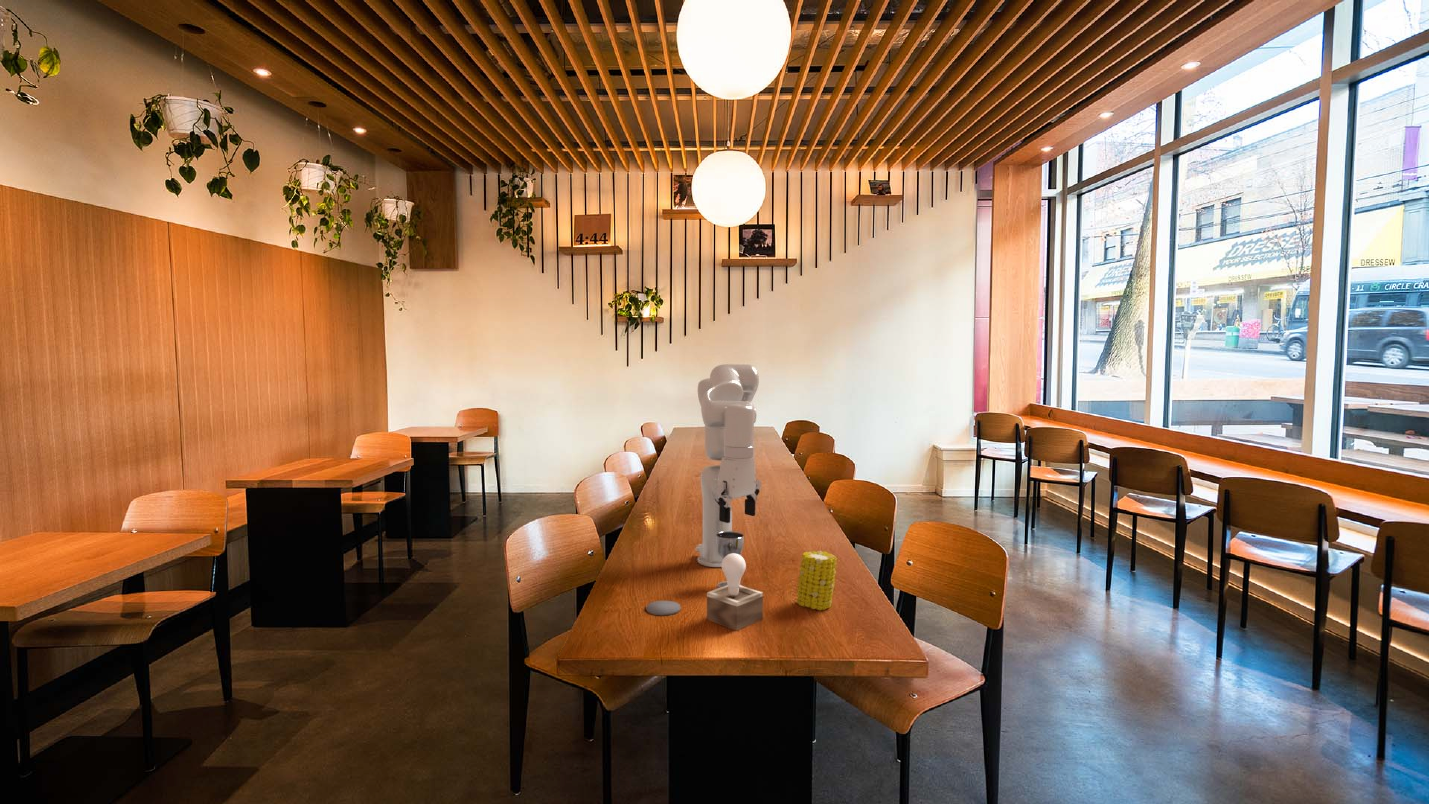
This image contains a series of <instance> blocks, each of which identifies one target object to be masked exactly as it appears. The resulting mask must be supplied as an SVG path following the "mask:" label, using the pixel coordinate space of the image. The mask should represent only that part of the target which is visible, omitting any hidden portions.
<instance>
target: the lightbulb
mask: <svg viewBox="0 0 1429 804" xmlns="http://www.w3.org/2000/svg"><path fill="white" fill-rule="evenodd" d="M746 568H747V564H746V560H745V558H744V557H743V556H742V555H739V554H736V553H731V554H728V555H727V556H726V557H725V558H724V559H723V561H722V567H721V570H722V573H723V574H724V576H725V579H726V581H727V585H728V592H729V595H731V596H733V597H735V596H736V595H738V593H739V586H740V584H741V581H742V580H741V579H742V577H743V576H744V573H745V572H746Z"/></svg>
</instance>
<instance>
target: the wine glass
mask: <svg viewBox="0 0 1429 804" xmlns="http://www.w3.org/2000/svg"><path fill="white" fill-rule="evenodd" d="M744 538H745V537H744V534H743V533H742V532H739V531H734V530H732V531H725V532H719V533H717V534H716V544H717V550H718V553H719V555H720V557H721V558H722V559H724V558H725V557H726V556H727V555H728V554H731V553H736V554H739V555H740V556H742V552H743V547H744V541H745V540H744ZM726 585H727V580H726V581H721V582H718V583H717V585H716V587H717V588H721V587H724V586H726ZM740 585H741V586H743V585H742V584H741V583H740Z"/></svg>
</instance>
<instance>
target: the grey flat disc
mask: <svg viewBox="0 0 1429 804" xmlns="http://www.w3.org/2000/svg"><path fill="white" fill-rule="evenodd" d="M645 610H646V612H647V613H648V614H651V615H653V616H661V617H664V616H671V615H675V614H677V613H679V612H680V611H681V604H679V602H676V601H672V600H657V601H656V600H655V601H651V602H649V603H648V604H646V606H645Z"/></svg>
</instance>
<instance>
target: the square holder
mask: <svg viewBox="0 0 1429 804" xmlns="http://www.w3.org/2000/svg"><path fill="white" fill-rule="evenodd" d="M741 585H742V584H741ZM741 585H740V586H739V593H738V595H736V596H735V597H733V596H731V595H729V592H728V585H726V586H724V587H721V588H719V587H717V588H715V589H713V590H710V591H708V592H707V593H706V620H707V621H710V622H713V623H715V624H716V625H717V624H718V625H721V626H723V627H726V628H729V629H731V630H733V631H736V632H738V631H739V630H741V629H744V628H747V627H749V626H751V625H753V624H755V623H757V622H760V621H762V620H763V617H764V616H763V615H764V614H763V613H764V611H763V610H764V609H763V606H764V605H763V604H764V602H763V601H764V592H763V591H759V590H756V589H753V588H750V587H746V586H744V585H742V586H741Z"/></svg>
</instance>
